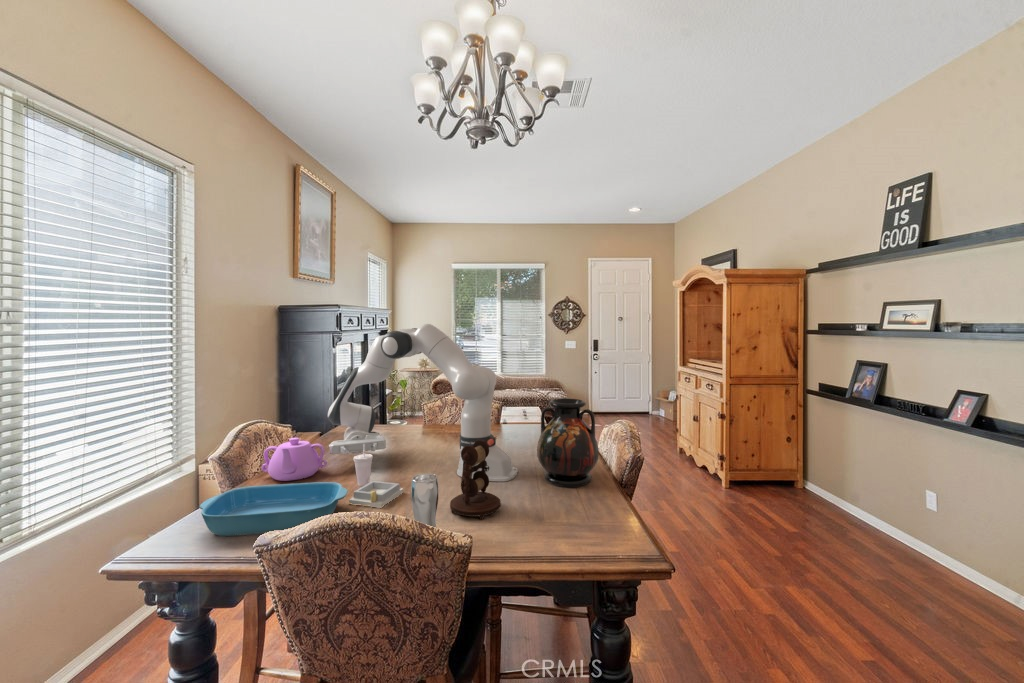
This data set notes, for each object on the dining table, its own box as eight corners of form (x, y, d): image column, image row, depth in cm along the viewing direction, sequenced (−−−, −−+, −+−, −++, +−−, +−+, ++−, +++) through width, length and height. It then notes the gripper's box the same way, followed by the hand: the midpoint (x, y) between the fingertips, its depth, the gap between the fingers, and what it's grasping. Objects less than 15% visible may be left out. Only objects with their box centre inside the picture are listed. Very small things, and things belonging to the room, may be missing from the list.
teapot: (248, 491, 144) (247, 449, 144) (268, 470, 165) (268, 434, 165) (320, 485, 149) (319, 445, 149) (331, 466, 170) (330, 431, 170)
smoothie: (362, 488, 146) (361, 447, 146) (349, 485, 149) (349, 444, 149) (377, 483, 151) (376, 443, 151) (364, 479, 155) (364, 440, 154)
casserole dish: (352, 500, 137) (352, 477, 137) (340, 532, 115) (340, 505, 115) (221, 510, 129) (221, 486, 129) (181, 547, 107) (181, 518, 107)
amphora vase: (530, 487, 147) (529, 404, 146) (544, 468, 167) (544, 395, 167) (594, 494, 140) (595, 407, 140) (601, 473, 161) (601, 397, 160)
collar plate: (403, 492, 142) (403, 479, 142) (380, 508, 130) (380, 493, 129) (374, 489, 145) (373, 476, 145) (349, 504, 133) (348, 490, 133)
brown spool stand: (467, 497, 138) (466, 434, 137) (509, 505, 132) (508, 439, 131) (440, 515, 125) (439, 446, 124) (485, 525, 118) (484, 452, 118)
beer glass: (432, 542, 109) (432, 483, 108) (406, 540, 110) (406, 481, 110) (442, 530, 116) (442, 473, 115) (418, 527, 117) (417, 472, 117)
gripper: (328, 436, 170) (329, 445, 157) (382, 431, 178) (387, 439, 165) (328, 452, 170) (329, 462, 157) (383, 446, 178) (387, 455, 165)
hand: (359, 450), depth 161 cm, fingers open, 8 cm apart
